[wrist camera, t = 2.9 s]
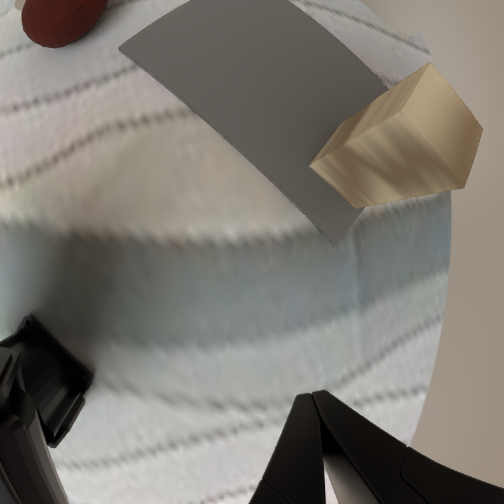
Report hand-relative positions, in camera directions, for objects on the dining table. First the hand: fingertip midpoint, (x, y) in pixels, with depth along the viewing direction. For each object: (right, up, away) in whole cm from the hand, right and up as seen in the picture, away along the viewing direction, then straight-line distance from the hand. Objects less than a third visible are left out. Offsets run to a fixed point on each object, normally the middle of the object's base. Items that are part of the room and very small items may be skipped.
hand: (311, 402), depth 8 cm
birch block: (+5, +10, +13) cm, 17 cm away
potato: (-17, +24, +8) cm, 30 cm away
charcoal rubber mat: (+1, +17, +12) cm, 21 cm away
